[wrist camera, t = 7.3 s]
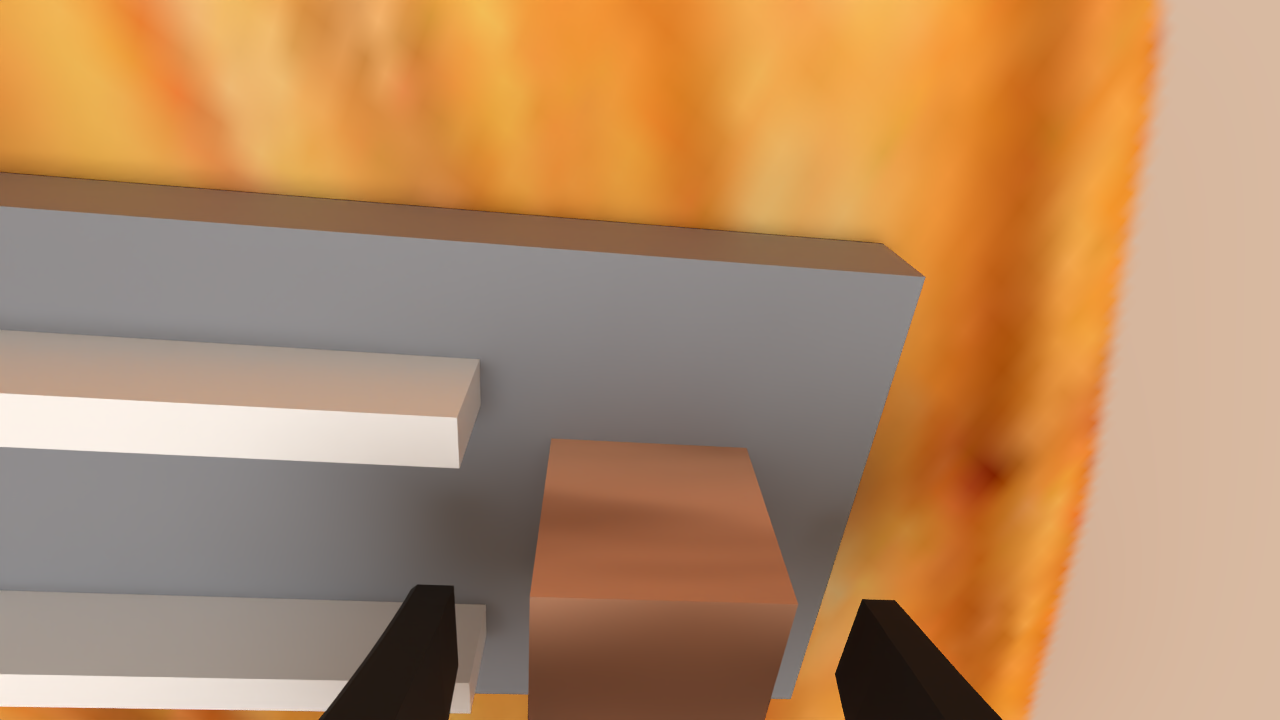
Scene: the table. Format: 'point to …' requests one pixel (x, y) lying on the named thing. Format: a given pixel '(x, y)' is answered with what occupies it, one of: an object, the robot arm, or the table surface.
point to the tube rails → (234, 428)
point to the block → (655, 586)
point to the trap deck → (440, 327)
